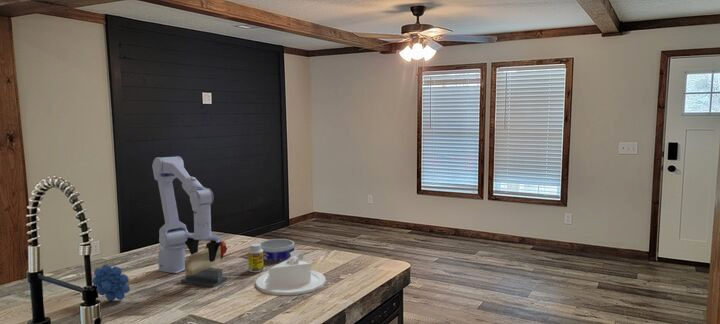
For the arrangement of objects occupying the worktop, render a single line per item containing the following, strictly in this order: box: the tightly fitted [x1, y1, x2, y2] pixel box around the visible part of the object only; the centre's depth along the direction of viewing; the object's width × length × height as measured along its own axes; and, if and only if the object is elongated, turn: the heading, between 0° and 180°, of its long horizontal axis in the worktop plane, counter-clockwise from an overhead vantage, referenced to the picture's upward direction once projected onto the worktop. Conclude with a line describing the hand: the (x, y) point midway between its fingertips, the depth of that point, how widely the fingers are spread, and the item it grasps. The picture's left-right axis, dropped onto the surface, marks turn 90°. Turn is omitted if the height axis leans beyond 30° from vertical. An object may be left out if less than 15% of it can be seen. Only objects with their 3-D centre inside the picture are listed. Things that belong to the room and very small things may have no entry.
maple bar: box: [184, 246, 222, 276], centre depth 169 cm, size 3×16×6 cm, turn 160°
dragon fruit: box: [204, 240, 228, 259], centre depth 198 cm, size 8×8×12 cm
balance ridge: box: [180, 266, 228, 288], centre depth 169 cm, size 14×8×5 cm, turn 70°
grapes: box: [91, 263, 131, 302], centre depth 150 cm, size 12×7×12 cm, turn 92°
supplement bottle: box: [248, 243, 264, 273], centre depth 181 cm, size 6×6×10 cm
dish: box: [255, 249, 326, 296], centre depth 168 cm, size 25×25×11 cm
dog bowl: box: [258, 238, 295, 263], centre depth 200 cm, size 15×15×6 cm
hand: (203, 260), depth 169 cm, fingers open, 7 cm apart
